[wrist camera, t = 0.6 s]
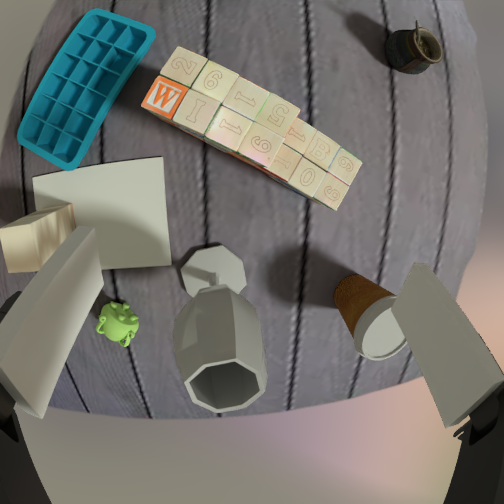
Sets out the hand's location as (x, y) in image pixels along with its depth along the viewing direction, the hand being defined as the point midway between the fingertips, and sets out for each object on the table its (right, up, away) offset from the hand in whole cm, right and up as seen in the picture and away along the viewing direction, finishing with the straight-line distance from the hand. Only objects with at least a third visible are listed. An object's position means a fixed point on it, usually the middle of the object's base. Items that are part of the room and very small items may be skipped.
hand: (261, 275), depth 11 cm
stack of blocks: (-1, +15, +23) cm, 28 cm away
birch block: (-26, +5, +22) cm, 34 cm away
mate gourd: (+22, +31, +21) cm, 43 cm away
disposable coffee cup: (+15, -5, +33) cm, 37 cm away
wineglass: (-5, -2, +28) cm, 29 cm away
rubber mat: (-21, +5, +23) cm, 31 cm away
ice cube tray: (-22, +22, +17) cm, 35 cm away
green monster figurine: (-19, -8, +28) cm, 35 cm away
